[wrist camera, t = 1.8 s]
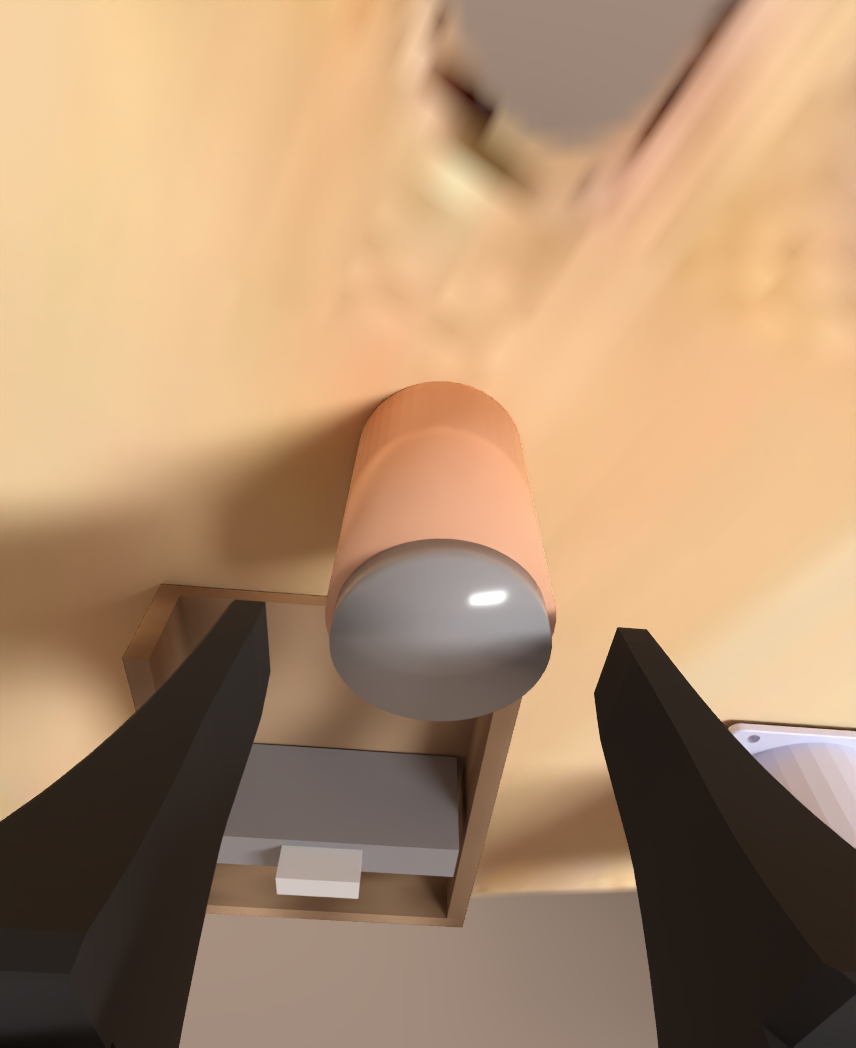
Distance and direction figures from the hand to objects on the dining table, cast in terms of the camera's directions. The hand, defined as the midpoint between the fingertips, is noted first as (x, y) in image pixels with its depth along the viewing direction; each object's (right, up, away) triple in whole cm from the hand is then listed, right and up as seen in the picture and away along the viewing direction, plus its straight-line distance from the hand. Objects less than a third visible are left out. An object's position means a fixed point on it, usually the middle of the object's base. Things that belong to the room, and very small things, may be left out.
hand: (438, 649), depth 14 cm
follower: (-4, -8, +15) cm, 17 cm away
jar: (0, +5, +6) cm, 8 cm away
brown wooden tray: (-4, -7, +14) cm, 16 cm away
